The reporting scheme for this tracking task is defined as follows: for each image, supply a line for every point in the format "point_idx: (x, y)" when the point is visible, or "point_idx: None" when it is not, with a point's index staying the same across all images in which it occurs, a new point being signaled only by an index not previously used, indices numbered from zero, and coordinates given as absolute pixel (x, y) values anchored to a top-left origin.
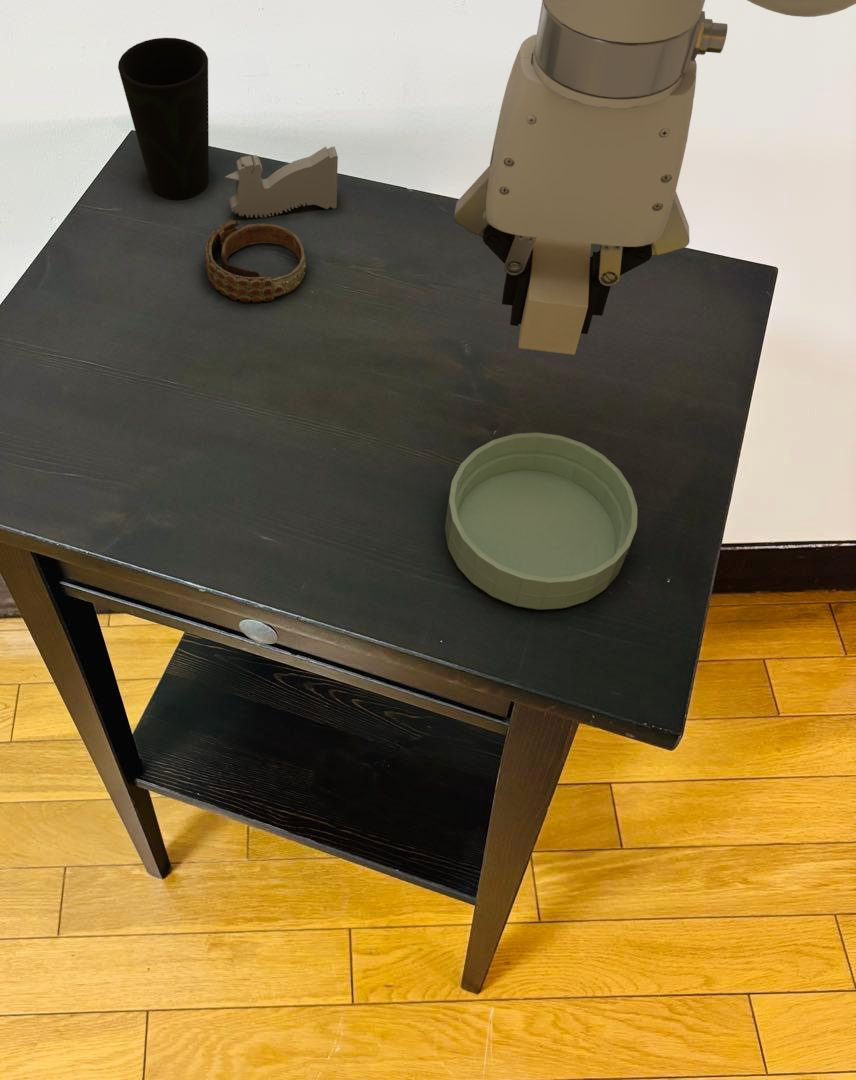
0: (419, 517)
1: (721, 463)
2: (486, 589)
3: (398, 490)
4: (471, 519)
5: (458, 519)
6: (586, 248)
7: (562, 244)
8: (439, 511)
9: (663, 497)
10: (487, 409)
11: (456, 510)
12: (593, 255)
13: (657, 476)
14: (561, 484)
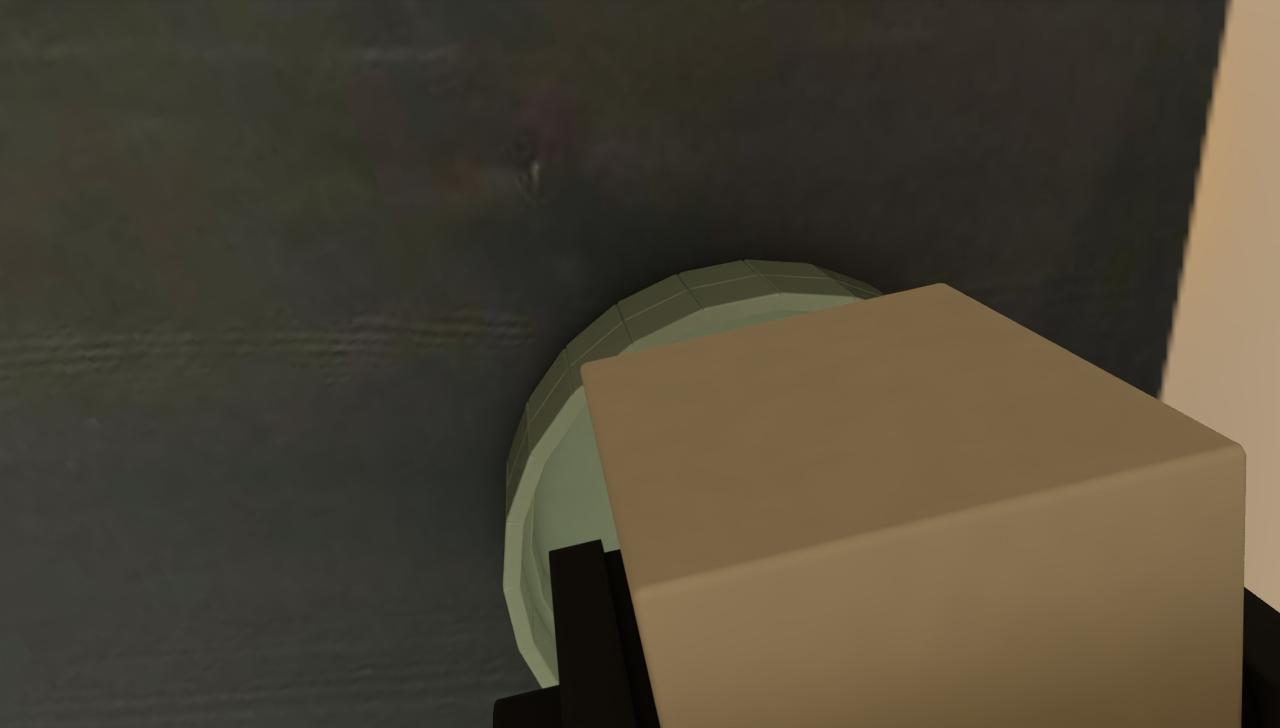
0: (437, 544)
1: (1206, 39)
2: None
3: (345, 486)
4: (575, 519)
5: (542, 533)
6: (1206, 660)
7: (969, 708)
8: (481, 506)
9: (1050, 230)
10: (482, 80)
11: (551, 671)
12: (1275, 726)
13: (1031, 160)
14: (780, 316)
